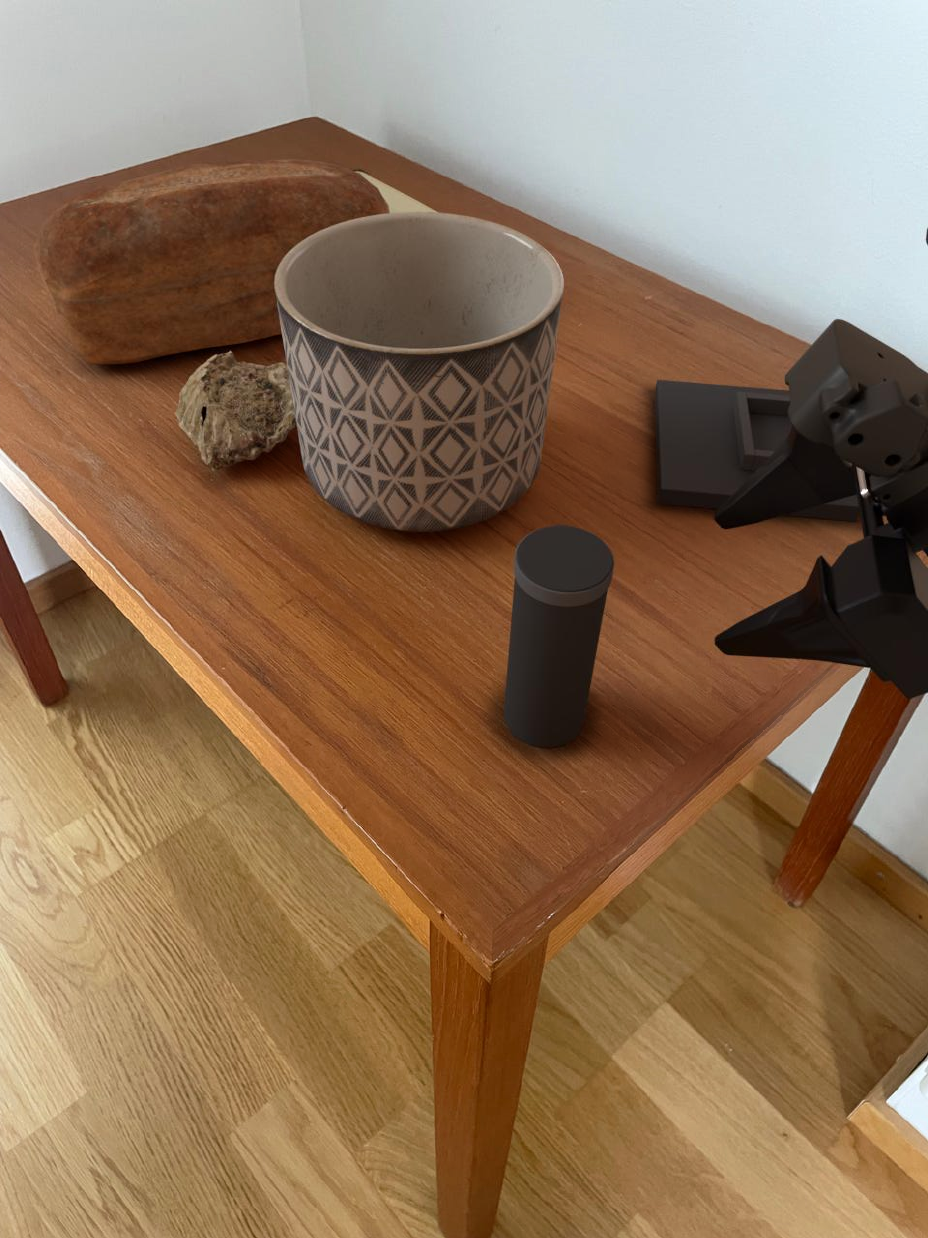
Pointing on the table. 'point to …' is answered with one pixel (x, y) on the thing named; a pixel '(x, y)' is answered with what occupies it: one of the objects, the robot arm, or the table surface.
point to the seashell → (236, 409)
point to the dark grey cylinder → (554, 632)
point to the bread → (188, 253)
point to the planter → (420, 365)
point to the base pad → (722, 443)
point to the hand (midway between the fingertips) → (718, 580)
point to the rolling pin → (395, 196)
